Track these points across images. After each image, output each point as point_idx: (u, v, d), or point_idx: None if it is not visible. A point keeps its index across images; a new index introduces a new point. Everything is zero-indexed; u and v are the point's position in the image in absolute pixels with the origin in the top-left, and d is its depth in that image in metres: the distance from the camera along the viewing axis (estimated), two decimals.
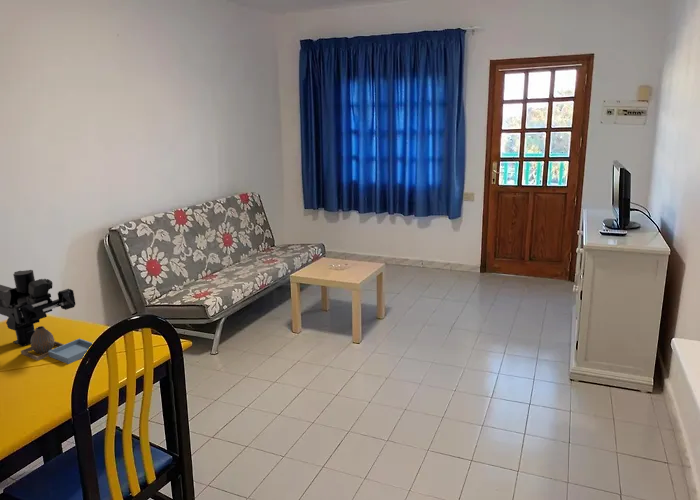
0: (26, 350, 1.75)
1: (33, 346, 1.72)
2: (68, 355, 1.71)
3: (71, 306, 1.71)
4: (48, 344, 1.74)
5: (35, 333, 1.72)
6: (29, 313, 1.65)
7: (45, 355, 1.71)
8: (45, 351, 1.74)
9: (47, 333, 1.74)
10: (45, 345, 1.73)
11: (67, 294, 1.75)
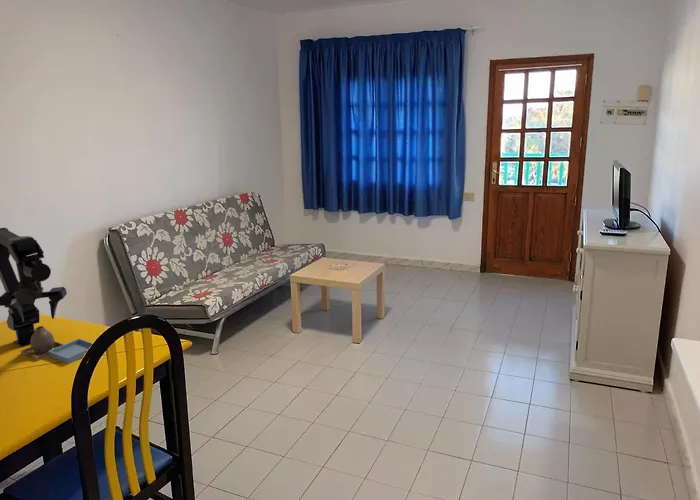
0: (26, 350, 1.75)
1: (33, 346, 1.72)
2: (68, 355, 1.71)
3: None
4: (48, 344, 1.74)
5: (35, 333, 1.72)
6: None
7: (45, 355, 1.71)
8: (45, 351, 1.74)
9: (47, 333, 1.74)
10: (45, 345, 1.73)
11: (54, 303, 1.71)
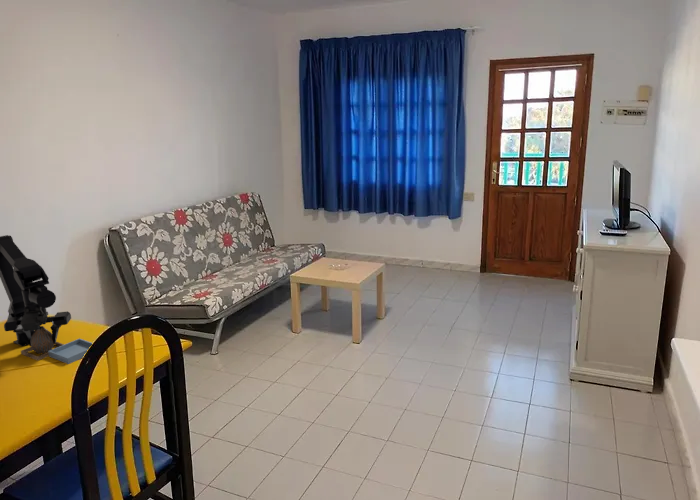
0: (26, 350, 1.75)
1: (33, 346, 1.72)
2: (68, 355, 1.71)
3: None
4: (48, 344, 1.74)
5: (35, 333, 1.72)
6: None
7: (45, 355, 1.71)
8: (45, 351, 1.74)
9: (47, 333, 1.74)
10: (45, 345, 1.73)
11: (55, 328, 1.73)
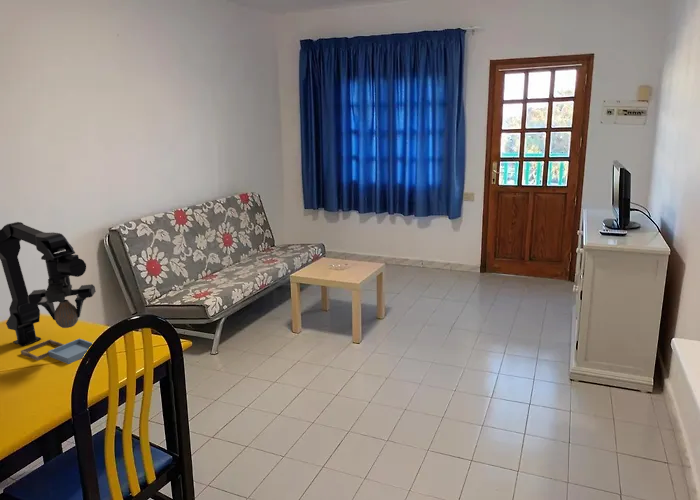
0: (26, 350, 1.75)
1: (57, 319, 1.67)
2: (68, 355, 1.71)
3: None
4: (73, 318, 1.69)
5: (59, 306, 1.67)
6: None
7: (45, 355, 1.71)
8: (69, 325, 1.69)
9: (71, 307, 1.69)
10: (70, 319, 1.68)
11: (80, 301, 1.68)
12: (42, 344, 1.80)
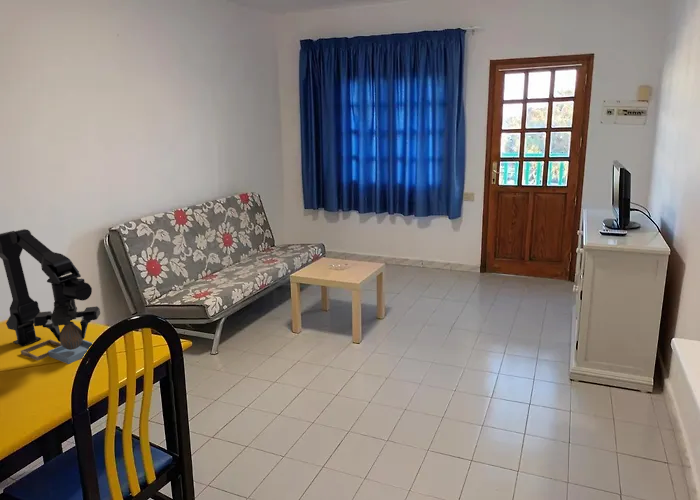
0: (26, 350, 1.75)
1: (62, 341, 1.69)
2: (68, 355, 1.71)
3: None
4: (78, 340, 1.71)
5: (65, 328, 1.70)
6: None
7: (45, 355, 1.71)
8: (74, 347, 1.71)
9: (76, 329, 1.71)
10: (75, 341, 1.70)
11: (85, 323, 1.70)
12: (42, 344, 1.80)
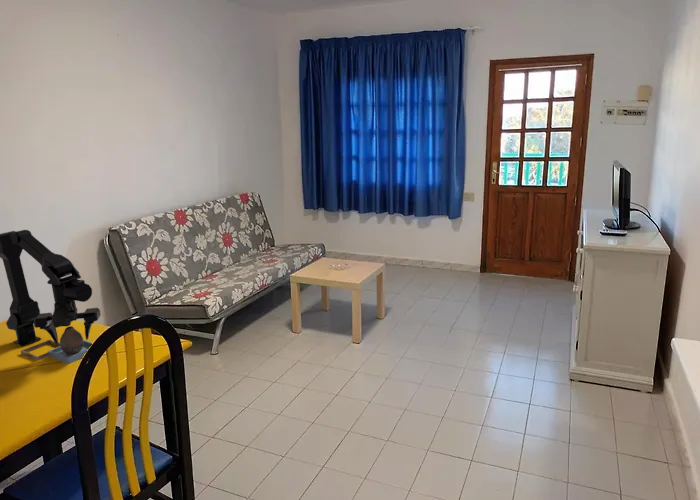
0: (26, 350, 1.75)
1: (63, 346, 1.70)
2: (68, 355, 1.71)
3: None
4: (78, 344, 1.71)
5: (65, 333, 1.70)
6: None
7: (45, 355, 1.71)
8: (75, 351, 1.71)
9: (77, 333, 1.72)
10: (75, 346, 1.70)
11: (89, 324, 1.70)
12: (42, 344, 1.80)
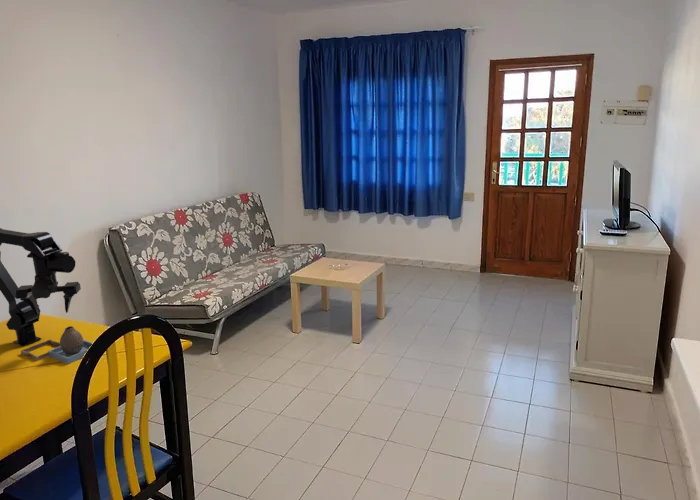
0: (26, 350, 1.75)
1: (63, 346, 1.70)
2: (68, 355, 1.71)
3: None
4: (78, 344, 1.71)
5: (65, 333, 1.70)
6: None
7: (45, 355, 1.71)
8: (75, 351, 1.71)
9: (77, 333, 1.72)
10: (75, 346, 1.70)
11: (68, 297, 1.75)
12: (42, 344, 1.80)
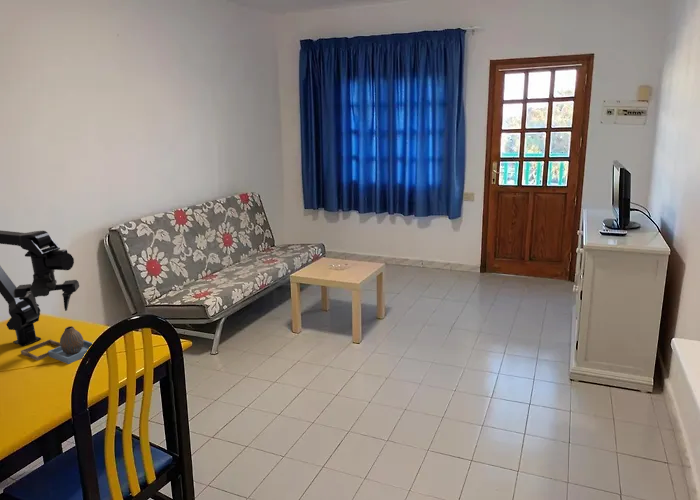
0: (26, 350, 1.75)
1: (63, 346, 1.70)
2: (68, 355, 1.71)
3: None
4: (78, 344, 1.71)
5: (65, 333, 1.70)
6: None
7: (45, 355, 1.71)
8: (75, 351, 1.71)
9: (77, 333, 1.72)
10: (75, 346, 1.70)
11: (67, 295, 1.76)
12: (42, 344, 1.80)
